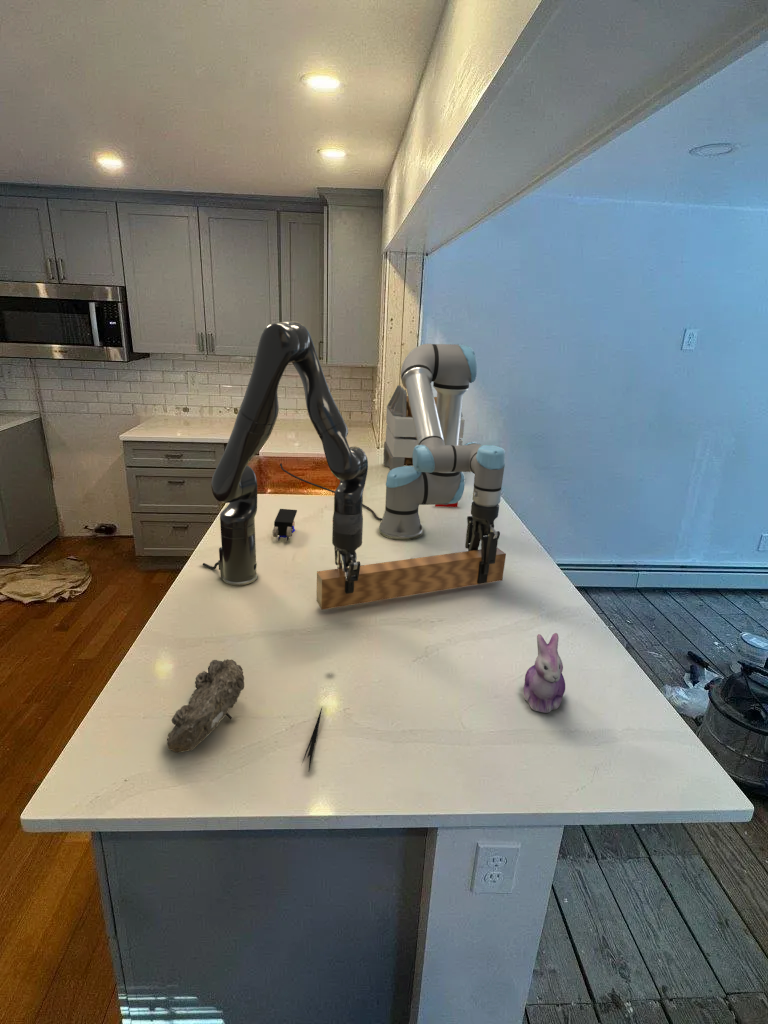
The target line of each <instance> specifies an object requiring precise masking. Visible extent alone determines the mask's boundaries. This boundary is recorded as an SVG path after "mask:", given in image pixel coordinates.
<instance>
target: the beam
mask: <svg viewBox="0 0 768 1024" xmlns="http://www.w3.org/2000/svg"><path fill="white" fill-rule="evenodd" d="M506 556H507V553H506V552H505V551H503V550H501V549H500V548H499V547H497V552H496V559H495V563H494V564H490V565H489V572H488V576H487V583H486V584H488V583H495V582H496V583H497V582H501V581H503V578H504V571H505V564H506ZM481 561H482V558H481V548H480V549H478V550H473V551H468V550H466V551H465V550H464V551H458V552H451V553H450V552H449V553H443V554H436V555H429V556H421V557H414V558H406V559H399V560H392V561H386V562H376V563H369V564H360V571H359V577H358V581H354V592H353V593H349V594H346V593H345V572H343V570H342V568H339V569H337V568H332V569H324V570H319V571H318V570H317V571H316V603H317V604H318V606H319V608H320V610H329V609H334V608H340V607H347V606H353V605H360V604H365V603H366V604H367V603H371V602H377V601H385V600H390V599H397V598H403V597H409V596H414V595H421V594H426V593H428V594H429V593H433V592H434V593H435V592H440V591H445V590H446V591H447V590H453V589H458V588H464V587H472V586H476V585H479V584H478V583H477V580H478V571H479V562H481ZM346 568H349V567H346ZM482 584H483V585H484V584H485V583H481V584H480V585H482Z"/></svg>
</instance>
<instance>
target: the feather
mask: <svg viewBox="0 0 768 1024" xmlns="http://www.w3.org/2000/svg"><path fill="white" fill-rule="evenodd" d="M329 675H330V676H331V675H332V674H331V673H330V674H329ZM322 710H323V707H321V708H320V710H319V713H318V716H317V719H316V723H315V725H314V728H313V731H312V733H311V737H310V739H309V742H308V745H307V748H306V751H305V754H304V757H303V760H302V763H301V767H302V765H303V763H304V761H305V758H308V759H309V760H308V762H307V763H308V764H307V766H308V771H310V770H311V766H312V765H311V764H312V760H313V757H315V756H314V755H315V751H316V749H315V746H317V739H318V733H319V729H320V722H321V717H322V712H323V711H322ZM313 754H314V755H313ZM306 755H307V757H306Z"/></svg>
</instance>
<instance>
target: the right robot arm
mask: <svg viewBox="0 0 768 1024" xmlns="http://www.w3.org/2000/svg"><path fill="white" fill-rule="evenodd" d="M477 375H478V361H477V357H476V353H475V351H474V349H473V348H472V347H471V346H469V345H467V344H466V345H465V344H456V343H455V344H453V343H452V344H451V343H450V344H449V343H448V344H447V343H446V344H445V343H444V344H443V343H423V344H419V345H417V346H416V347H414V348H412V350H410V351H409V353H408V354H407V355H406V356H405V358H404V359H403V362H402V365H401V368H400V379H401V380H400V381H401V384H402V386H403V388H404V389H405V390H406V393H407V396H408V398H409V403H410V408H411V413H412V418H413V423H414V428H415V433H416V437H417V442H418V445H417V446H415V447H414V449H413V455H412V459H413V466H407V465H404V466H402V467H397V468H394V469H392V470H390V469H389V470H388V472H387V475H386V480H385V504H384V505H385V507H384V508H385V509H384V513H383V515H382V517H378V516H377V515H376V513H375V511H374V510H373V509H372V508H370V507H369V506H367V505H365V504H364V503H363V505H362V508H365V509H367V510H368V511H370V513H372V516H374V518H375V519H377V520H378V521H381V522H379V525H378V533H379V534H380V535H381V536H382V537H385V538H387V539H389V540H395V541H410V540H415V539H418V538H420V537H421V536H422V535H423V525H422V524H421V518H420V515H419V507H420V506H427V505H428V506H430V505H431V506H433V505H434V506H435V504H443V505H447V504H455V503H457V502H458V503H459V501H460V500H461V499H462V498H463V495H464V493H465V492H464V491H465V484H466V483H465V474H464V473H473V475H474V479H473V491H472V502H471V506H470V515H468V516H467V518H466V523H467V526H466V534H465V544H464V548H465V549H466V550H467V551H473V550H479V547H480V549H481V558H482V561H481V562H479V571H478V580H477V583H478V584H477V585H482V584H481V583H484V584H488V583H487V576H488V572H489V565H490V564H494V563H495V559H496V552H497V548H498V542H499V539H500V536H501V532H500V531H499V530H497V531H496V529H495V521H496V519H497V518H498V517H499V513H500V503H501V497H502V487H503V480H504V473H505V472H504V471H505V466H506V454H507V453H506V449H504V447H500V446H498V445H492V444H491V445H489V444H485V445H484V444H481V443H478V442H476V441H469V442H467V443H465V444H462V445H458V441H459V432H460V422H461V418H462V417H461V412H462V413H463V411H462V410H463V402H464V394H465V393H466V392H467V391H468V390H469V389H470V384H472V383H474V382H476V379H477ZM433 388H434V390H435V391H436V397H437V402H436V404H435V400H434V397H435V396H434V392H433ZM279 467H280V469H281V470H282V471H283V472H284V473H286V474H287V475H289V476H291V477H292V478H295V479H296V480H298V481H301V482H303V483H306V484H309V485H312V486H313V487H316V488H319V489H322V490H324V491H328V492H331V493H333V494H335V490H333V489H330V488H327V487H324V486H323V485H319V484H316V483H314V482H311V481H308V480H306V479H303V478H301V477H298V476H296V475H295V474H293V473H291V472H289V471H288V470H286V469H285V468H284V467H283V464H282V463H279Z"/></svg>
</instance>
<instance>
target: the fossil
mask: <svg viewBox="0 0 768 1024" xmlns="http://www.w3.org/2000/svg"><path fill="white" fill-rule="evenodd" d="M243 670H244V669H243V667H242V665H240V664H237V662H236V661H235V660H234V659H232V658H231V659H227V658H226V659H224V660H223V661H222V660H217V659H212V660H211V661H210V663H209V665H208V666H207V671H201V672H199V673H198V674H197V675H196V676H195V680H194V684H195V685H194V687H195V689H194V690H193V693H192V694H191V697H190V698H189V700H188V704H184V705H182V706H181V707H180V709H177V710H176V711H175V713H174V715H173V716H172V718H171V723H172V724H173V727H172V730H171V731H170V732H168V734H167V738H166V741H167V742H166V745H167V749H168V750H169V751H173V752H174V753H176V754H178V753H182V752H188V751H189V752H192V751H193V750H195V748H196V747H197V746H199V744H200V743H201V742H203V741H204V740H205V739H206V738H207V737H208V736H209V735H210V734H211V733H212V732H214V730H215V729H217V727H218V726H219V724H220V722H221V721H222V720H223V719H224V718H225V716H226V717H227V719H229V720H233V717H232V715H230V714H229V710H230V709H231V708H234V706H235V704H236V703H237V702H238V699H239V697H240V695H241V693H242V691H243V690H245V689H244V688H245V675H244V671H243Z"/></svg>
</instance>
